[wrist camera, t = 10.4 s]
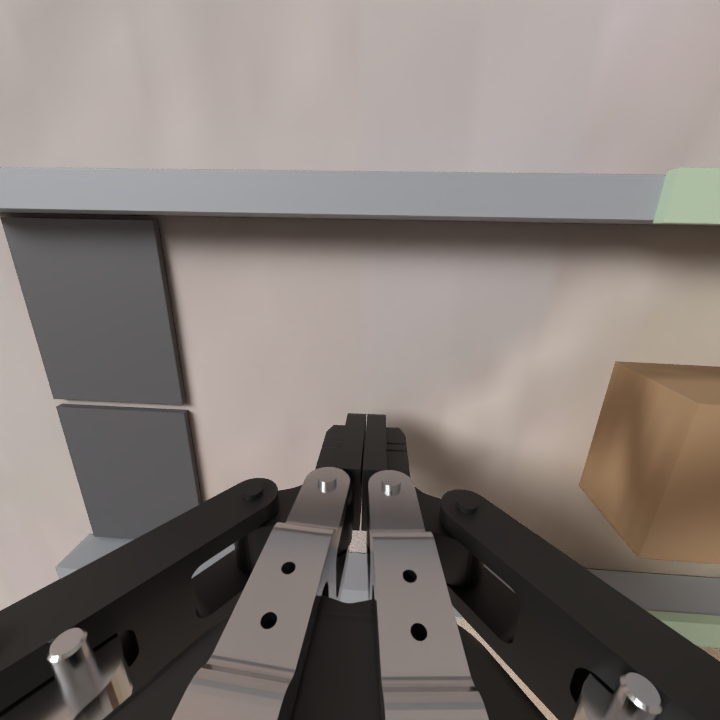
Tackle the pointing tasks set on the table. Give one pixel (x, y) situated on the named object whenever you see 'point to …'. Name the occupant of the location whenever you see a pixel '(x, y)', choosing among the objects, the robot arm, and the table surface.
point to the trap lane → (157, 333)
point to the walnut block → (659, 460)
